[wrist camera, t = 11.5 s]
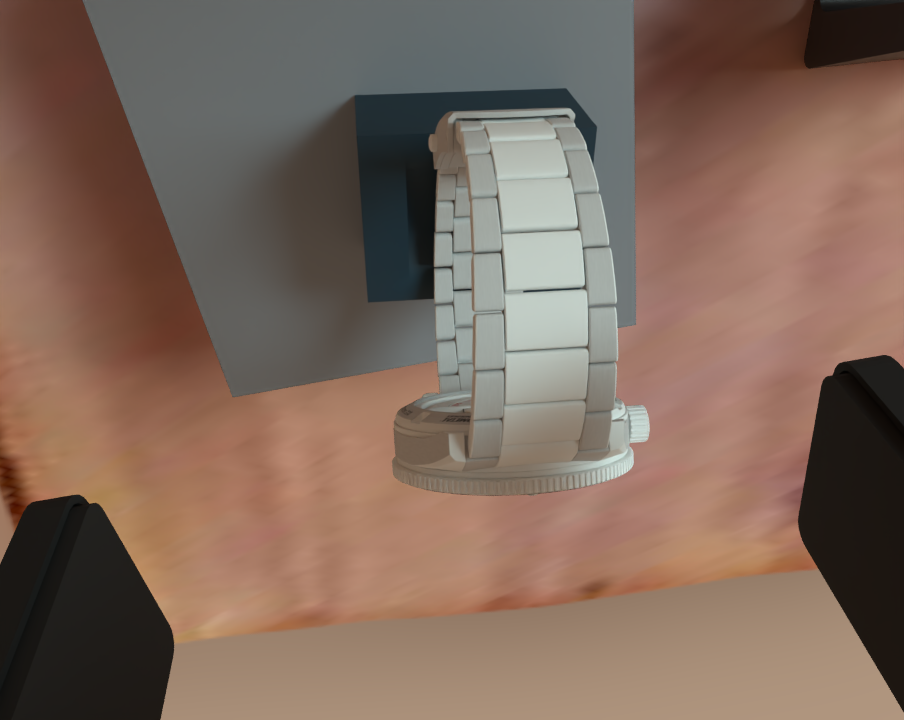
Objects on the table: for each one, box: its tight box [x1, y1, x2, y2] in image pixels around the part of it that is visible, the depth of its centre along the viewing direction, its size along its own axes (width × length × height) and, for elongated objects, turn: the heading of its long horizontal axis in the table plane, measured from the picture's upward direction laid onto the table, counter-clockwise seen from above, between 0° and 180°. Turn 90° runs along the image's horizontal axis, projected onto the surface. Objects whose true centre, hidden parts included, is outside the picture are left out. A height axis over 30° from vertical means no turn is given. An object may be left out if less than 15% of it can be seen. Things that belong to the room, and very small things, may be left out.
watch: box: [355, 88, 649, 496], centre depth 18 cm, size 6×8×11 cm
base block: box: [83, 0, 636, 397], centre depth 24 cm, size 13×13×6 cm
